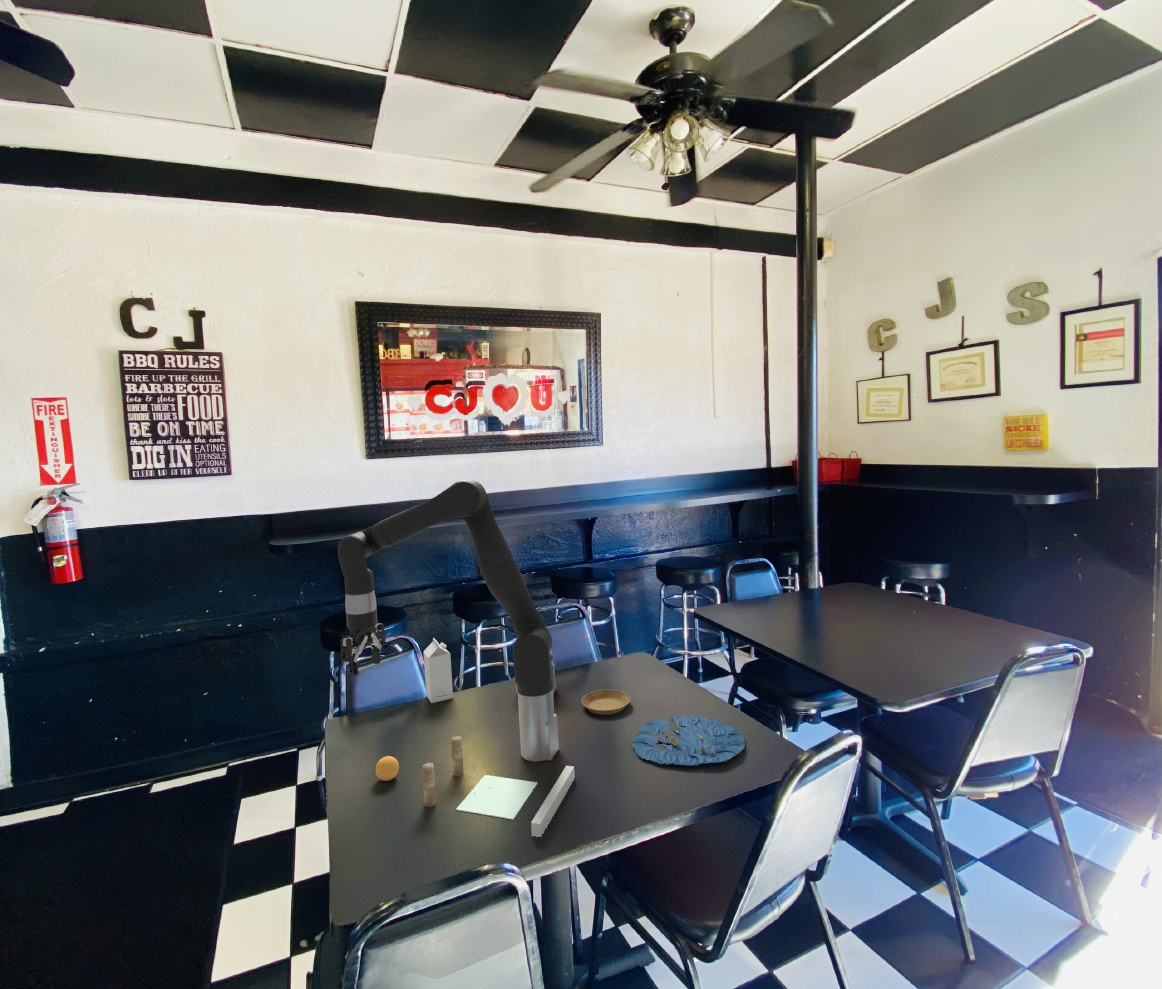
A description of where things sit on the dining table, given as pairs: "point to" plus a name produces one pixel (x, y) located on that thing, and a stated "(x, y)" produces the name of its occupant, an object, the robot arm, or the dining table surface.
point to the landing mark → (497, 797)
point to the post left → (429, 784)
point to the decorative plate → (689, 741)
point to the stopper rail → (552, 802)
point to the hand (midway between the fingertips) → (365, 669)
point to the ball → (387, 768)
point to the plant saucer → (605, 701)
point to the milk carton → (438, 672)
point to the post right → (457, 756)
